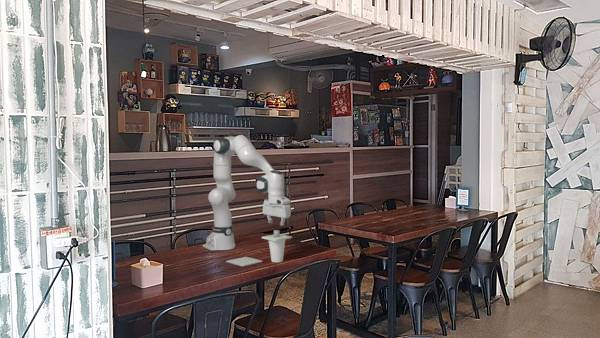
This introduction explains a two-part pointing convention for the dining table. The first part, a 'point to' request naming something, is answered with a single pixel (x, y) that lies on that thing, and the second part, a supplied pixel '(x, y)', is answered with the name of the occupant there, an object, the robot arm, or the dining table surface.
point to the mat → (244, 261)
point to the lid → (276, 236)
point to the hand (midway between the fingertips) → (276, 224)
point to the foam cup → (277, 250)
